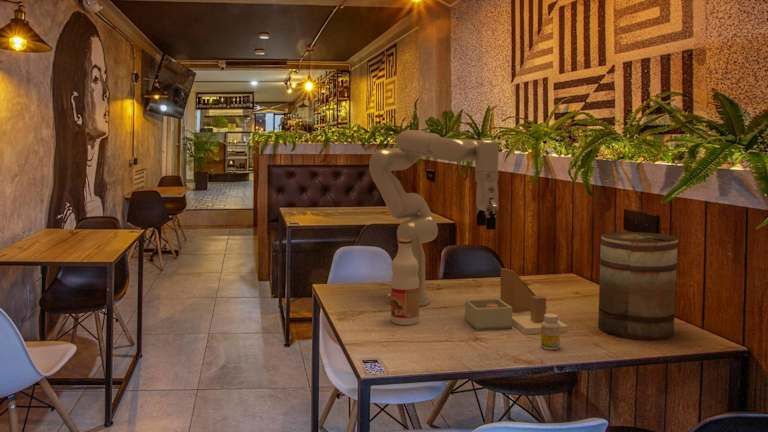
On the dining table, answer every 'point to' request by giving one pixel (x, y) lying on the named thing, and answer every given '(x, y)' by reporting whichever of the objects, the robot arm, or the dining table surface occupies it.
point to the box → (488, 314)
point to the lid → (534, 318)
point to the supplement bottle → (550, 332)
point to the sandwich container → (515, 291)
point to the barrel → (637, 285)
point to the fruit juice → (404, 285)
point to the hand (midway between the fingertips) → (485, 227)
